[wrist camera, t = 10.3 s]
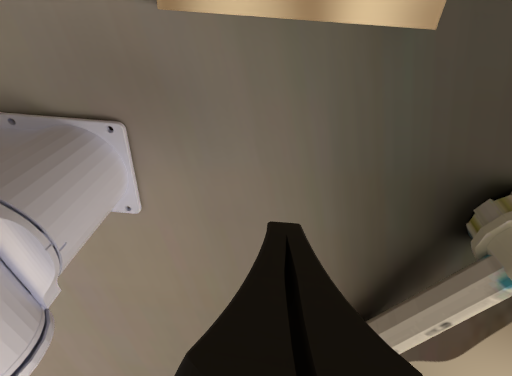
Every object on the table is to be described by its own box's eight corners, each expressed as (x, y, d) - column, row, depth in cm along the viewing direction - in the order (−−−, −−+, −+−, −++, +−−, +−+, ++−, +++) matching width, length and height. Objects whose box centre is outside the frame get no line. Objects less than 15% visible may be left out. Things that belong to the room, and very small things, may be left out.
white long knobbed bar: (325, 372, 31) (592, 249, 15) (321, 312, 36) (517, 175, 20) (365, 384, 32) (653, 281, 16) (355, 324, 37) (567, 202, 21)
